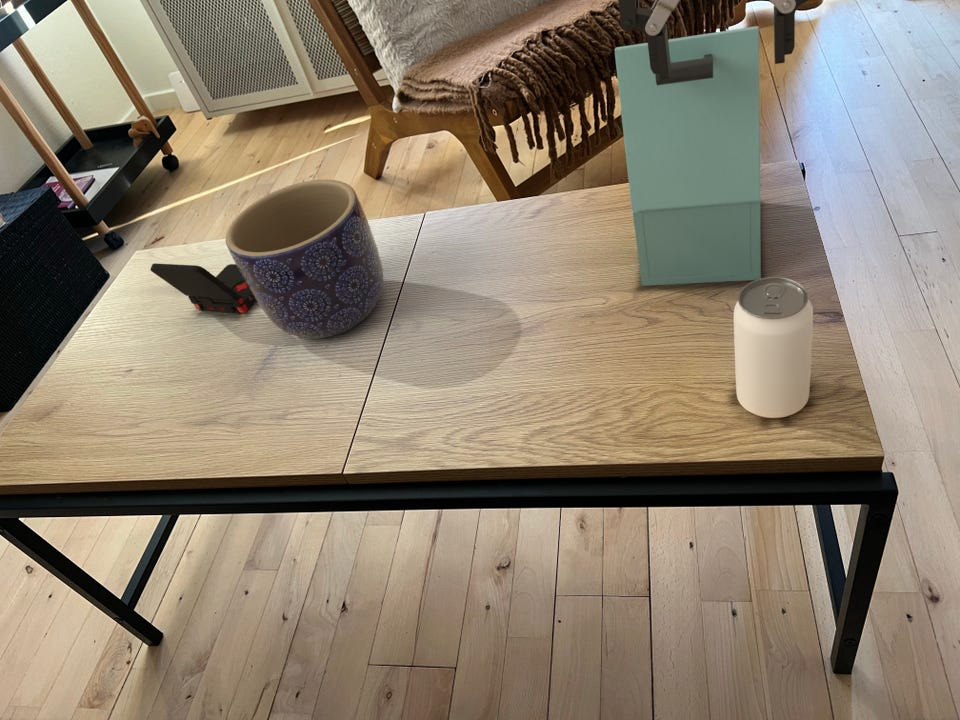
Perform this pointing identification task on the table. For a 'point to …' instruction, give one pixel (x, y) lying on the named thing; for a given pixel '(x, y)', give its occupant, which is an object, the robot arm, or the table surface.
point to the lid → (692, 121)
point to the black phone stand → (209, 287)
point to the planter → (309, 258)
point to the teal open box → (699, 243)
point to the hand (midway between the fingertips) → (721, 68)
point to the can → (773, 346)
